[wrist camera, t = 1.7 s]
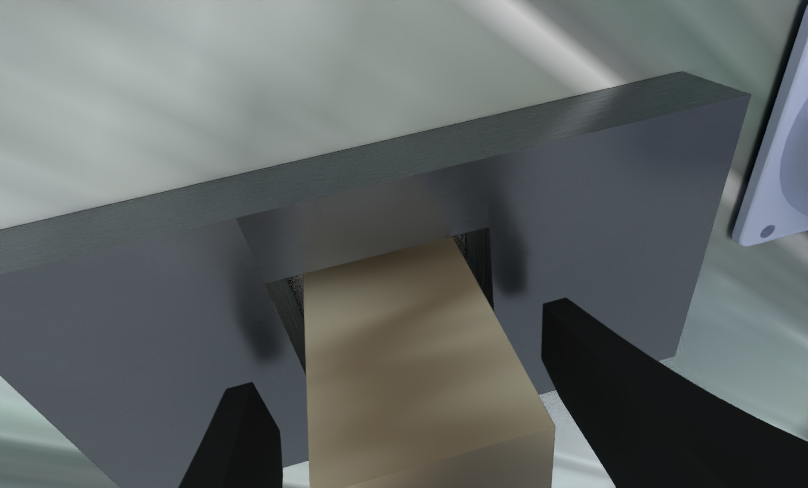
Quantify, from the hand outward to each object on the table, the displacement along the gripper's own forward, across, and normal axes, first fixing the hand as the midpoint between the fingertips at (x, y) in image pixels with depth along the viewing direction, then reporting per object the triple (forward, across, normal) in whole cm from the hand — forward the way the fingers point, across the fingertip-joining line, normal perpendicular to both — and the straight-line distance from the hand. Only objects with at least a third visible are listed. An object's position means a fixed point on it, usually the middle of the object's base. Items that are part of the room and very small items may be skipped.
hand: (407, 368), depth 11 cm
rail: (+3, 0, 0) cm, 3 cm away
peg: (+3, 0, 0) cm, 3 cm away
